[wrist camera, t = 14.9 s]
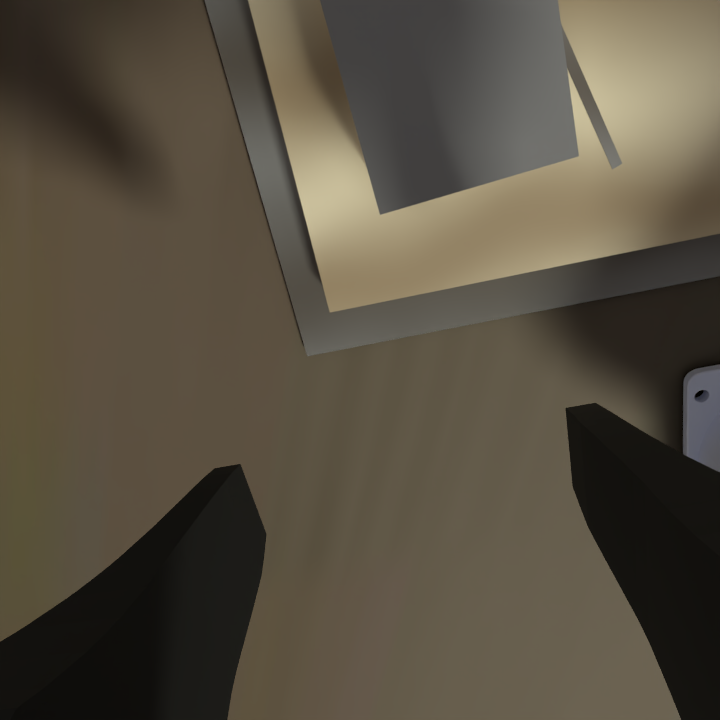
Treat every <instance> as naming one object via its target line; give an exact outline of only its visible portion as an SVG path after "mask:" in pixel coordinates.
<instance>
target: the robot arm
mask: <svg viewBox="0 0 720 720" xmlns="http://www.w3.org/2000/svg"><path fill="white" fill-rule="evenodd" d="M701 390H704V392H703V394H702V395H701V396H699V397H695V394H696V393H697V392H698V391H701ZM566 417H567V429H568V440H569V451H570V462H571V473H572V484H573V489H574V491H575V494H576V497H577V499H578V502H579V505H580V507H581V510H582V512H583V515H584V518H585V520H586V523H587V525H588V528H589V530H590V531H591V533H592V535H593V537H594V539H595V541H596V543H597V545H598V547H599V548H600V550H601V552H602V554H603V556H604V558H605V560H606V561H607V563H608V565H609V567H610V569H611V571H612V572H613V574H614V576H615V578H616V580H617V582H618V583H619V585H620V587H621V589H622V591H623V593H624V594H625V596H626V598H627V600H628V602H629V604H630V605H631V607H632V609H633V611H634V613H635V615H636V616H637V618H638V620H639V622H640V624H641V626H642V628H643V630H644V632H645V635H646V637H647V639H648V641H649V643H650V645H651V648H652V650H653V652H654V655H655V657H656V659H657V662H658V664H659V667H660V669H661V671H662V674H663V676H664V678H665V681H666V683H667V686H668V688H669V690H670V693H671V695H672V698H673V700H674V703H675V705H676V708H677V710H678V713H679V715H680V718H681V720H720V364H719V365H714V366H708V367H702V368H697V369H694V370H692V371H690V372H689V373H688V374H687V375H686V376H685V378H684V382H683V454H682V453H680V452H678V451H676V450H674V449H673V448H671V447H669V446H667V445H665V444H663V443H662V442H660V441H658V440H656V439H655V438H653V437H651V436H649V435H648V434H646V433H644V432H643V431H641V430H639V429H638V428H636V427H634V426H633V425H631V424H630V423H628V422H626V421H625V420H623V419H621V418H620V417H618V416H617V415H615V414H613V413H612V412H610V411H608V410H607V409H605V408H603V407H602V406H600V405H598V404H597V403H592V404H586V405H580V406H575V407H569V408H566ZM265 542H266V532H265V529H264V526H263V524H262V521H261V518H260V516H259V513H258V510H257V508H256V505H255V502H254V500H253V497H252V494H251V492H250V489H249V486H248V483H247V481H246V478H245V475H244V473H243V470H242V467H241V465H240V464H238V465H232V466H226V467H220V468H215V469H214V470H212V471H211V472H210V473H209V474H208V475H206V476H205V477H204V478H203V479H202V480H201V481H200V482H199V483H198V484H197V485H196V486H195V487H194V488H193V489H192V490H191V491H190V492H189V493H188V494H187V495H186V496H185V497H184V498H183V499H181V500H180V501H179V502H178V503H177V504H176V505H175V506H174V507H173V508H172V509H171V510H170V511H169V512H168V513H167V514H166V515H165V516H164V517H163V518H162V519H161V520H160V521H159V522H158V523H157V524H156V525H155V526H154V527H153V528H152V529H150V530H149V531H148V532H147V533H146V534H145V535H144V536H143V537H142V538H140V539H139V540H138V541H137V542H136V543H135V544H134V545H133V546H132V547H130V548H129V549H128V550H127V551H126V552H125V553H124V554H123V555H122V556H121V557H119V558H118V559H117V560H116V561H115V562H113V563H112V564H111V565H110V566H109V567H107V568H106V569H105V570H104V571H102V572H101V573H100V574H99V575H97V576H96V577H95V578H94V579H92V580H91V581H90V582H88V583H87V584H86V585H84V586H83V587H82V588H81V589H79V590H78V591H77V592H75V593H74V594H72V595H71V596H70V597H68V598H67V599H65V600H64V601H62V602H61V603H59V604H58V605H56V606H55V607H54V608H52V609H51V610H49V611H48V612H46V613H45V614H43V615H42V616H40V617H39V618H37V619H36V620H34V621H33V622H31V623H30V624H28V625H27V626H25V627H24V628H22V629H21V630H19V631H17V632H16V633H14V634H12V635H11V636H9V637H7V638H6V639H4V640H3V641H1V642H0V720H227V717H228V711H229V705H230V699H231V693H232V688H233V684H234V679H235V675H236V670H237V666H238V663H239V659H240V655H241V651H242V648H243V644H244V640H245V637H246V633H247V629H248V625H249V622H250V618H251V614H252V610H253V607H254V603H255V599H256V595H257V591H258V587H259V583H260V579H261V575H262V568H263V560H264V552H265Z"/></svg>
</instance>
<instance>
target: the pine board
mask: <svg viewBox="0 0 720 720" xmlns="http://www.w3.org/2000/svg"><path fill="white" fill-rule="evenodd" d="M205 4H206V7H207V11H208V14H209V18H210V21H211V25H212V28H213V32H214V35H215V39H216V42H217V46H218V49H219V52H220V56H221V59H222V63H223V66H224V70H225V73H226V77H227V80H228V84H229V87H230V91H231V94H232V97H233V101H234V104H235V108H236V111H237V115H238V118H239V122H240V125H241V129H242V132H243V136H244V139H245V142H246V146H247V149H248V153H249V156H250V160H251V163H252V167H253V170H254V174H255V177H256V181H257V184H258V188H259V191H260V194H261V198H262V201H263V205H264V208H265V212H266V215H267V219H268V222H269V226H270V229H271V233H272V236H273V239H274V243H275V246H276V250H277V253H278V257H279V260H280V264H281V267H282V271H283V274H284V278H285V281H286V284H287V288H288V291H289V295H290V298H291V302H292V305H293V309H294V312H295V316H296V319H297V323H298V326H299V330H300V333H301V336H302V340H303V343H304V347H305V350H306V354H307V356H311V355H316V354H321V353H326V352H332V351H337V350H342V349H347V348H352V347H357V346H363V345H368V344H373V343H378V342H383V341H388V340H393V339H399V338H404V337H409V336H414V335H419V334H424V333H430V332H435V331H440V330H445V329H450V328H455V327H461V326H466V325H471V324H476V323H481V322H486V321H491V320H497V319H502V318H507V317H512V316H517V315H522V314H528V313H533V312H538V311H543V310H548V309H553V308H559V307H564V306H569V305H574V304H579V303H584V302H590V301H595V300H600V299H605V298H610V297H615V296H620V295H626V294H631V293H636V292H641V291H646V290H651V289H657V288H662V287H667V286H672V285H677V284H682V283H688V282H693V281H698V280H703V279H708V278H713V277H719V276H720V0H558V4H559V12H560V19H561V26H562V34H563V41H564V49H565V56H566V63H567V71H568V78H569V86H570V93H571V100H572V108H573V115H574V123H575V130H576V137H577V145H578V152H579V156H578V157H575V158H572V159H568V160H565V161H561V162H558V163H555V164H551V165H548V166H544V167H541V168H538V169H534V170H531V171H527V172H524V173H521V174H517V175H514V176H511V177H507V178H504V179H500V180H497V181H494V182H490V183H487V184H483V185H480V186H477V187H473V188H470V189H466V190H463V191H460V192H456V193H453V194H449V195H446V196H443V197H439V198H436V199H433V200H429V201H426V202H422V203H419V204H416V205H412V206H409V207H405V208H402V209H399V210H395V211H392V212H388V213H385V214H382V215H380V213H379V210H378V206H377V202H376V199H375V195H374V192H373V188H372V185H371V181H370V177H369V174H368V170H367V167H366V163H365V160H364V156H363V152H362V149H361V145H360V142H359V138H358V135H357V131H356V127H355V124H354V120H353V117H352V113H351V110H350V106H349V102H348V99H347V95H346V92H345V88H344V85H343V81H342V77H341V74H340V70H339V67H338V63H337V60H336V56H335V52H334V49H333V45H332V42H331V38H330V35H329V31H328V27H327V24H326V20H325V17H324V13H323V10H322V6H321V2H320V0H205Z"/></svg>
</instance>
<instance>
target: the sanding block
mask: <svg viewBox="0 0 720 720" xmlns="http://www.w3.org/2000/svg"><path fill="white" fill-rule="evenodd" d="M320 2H321V6H322V10H323V13H324V17H325V20H326V24H327V27H328V31H329V35H330V38H331V42H332V45H333V49H334V52H335V56H336V60H337V63H338V67H339V70H340V74H341V77H342V81H343V85H344V88H345V92H346V95H347V99H348V102H349V106H350V110H351V113H352V117H353V120H354V124H355V127H356V131H357V135H358V138H359V142H360V145H361V149H362V152H363V156H364V160H365V163H366V167H367V170H368V174H369V177H370V181H371V185H372V188H373V192H374V195H375V199H376V202H377V206H378V210H379V213H380V215H382V214H385V213H388V212H392V211H395V210H399V209H402V208H405V207H409V206H412V205H416V204H419V203H422V202H426V201H429V200H433V199H436V198H439V197H443V196H446V195H449V194H453V193H456V192H460V191H463V190H466V189H470V188H473V187H477V186H480V185H483V184H487V183H490V182H494V181H497V180H500V179H504V178H507V177H511V176H514V175H517V174H521V173H524V172H527V171H531V170H534V169H538V168H541V167H544V166H548V165H551V164H555V163H558V162H561V161H565V160H568V159H572V158H575V157H578V156H579V152H578V145H577V137H576V130H575V123H574V115H573V108H572V100H571V93H570V86H569V78H568V71H567V63H566V56H565V49H564V41H563V34H562V26H561V19H560V12H559V4H558V0H320Z"/></svg>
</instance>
